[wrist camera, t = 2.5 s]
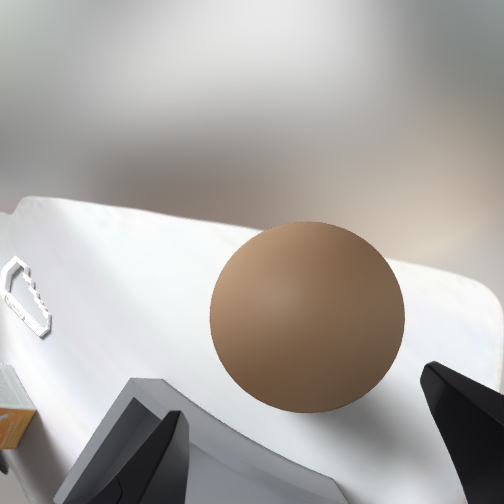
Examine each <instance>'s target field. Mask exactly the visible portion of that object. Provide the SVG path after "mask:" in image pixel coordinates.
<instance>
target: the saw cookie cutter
mask: <svg viewBox="0 0 504 504" xmlns="http://www.w3.org/2000/svg"><path fill="white" fill-rule="evenodd" d="M20 266H22V267H23V268H25V269H24V275H23V278H25V279H26V280H27V281H28V282H29V283H30V286H29V290H30V291H31V292H32V293H33V294H34V295H35V298H34V300H35V301H36V302H37V303H38V304H39V308H41V309H42V310H43V311H44V316H45V317H46V318H47V327H45V328H44V329H43V328H42V327H41V326H40V325H39V324H38V323H37V322H36V321H35V320H34V318H33V317H32V316H31V315H30V314H29V313H28V312H27V311H26V310H25V309H24V308H23V307H22V306H21V305H20V303H19V302H18V301H17V300H16V299H15V298H14V297H13V295H12V294H11V293H10V285H11V279H12V275H13V274H14V272H15V271H16V270H17V269H18V268H19V267H20ZM29 271H30V268H29V267H28V266H27V265H26V264H25V263H24V262H23V261H22V260H21V259H19V258H18V257H16V256H15V257H14V258H13V259H12V260H11V261H10V262H9V263H8V264H7V265H6V266H5V267H4V268H3V269H2V274H1V279H0V294H1V295H2V297H3V298H4V299H5V300H6V301H7V303H8V305H10V306H11V307H12V308H13V310H14V311H15V312H16V313H17V314H18V315H19V316H20V318H22V319H23V321H24V322H25V323H26V324H27V325H28V326H29V327H30V328H31V329H32V330H33V331H34V332H35V333H36V334H37V335H38V336H40V337H42V336H43V335H45V334H46V333H47V332H48V331H49V330H50V321H51V314H50V313H49V312H47V308H46V307H45V306H44V303H43V302H42V301H41V300H40V299H39V293H38V292H37V291H36V290H35V289H34V286H35V282H34V281H33V280H32V279H31V278H30V277H29Z"/></svg>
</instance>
